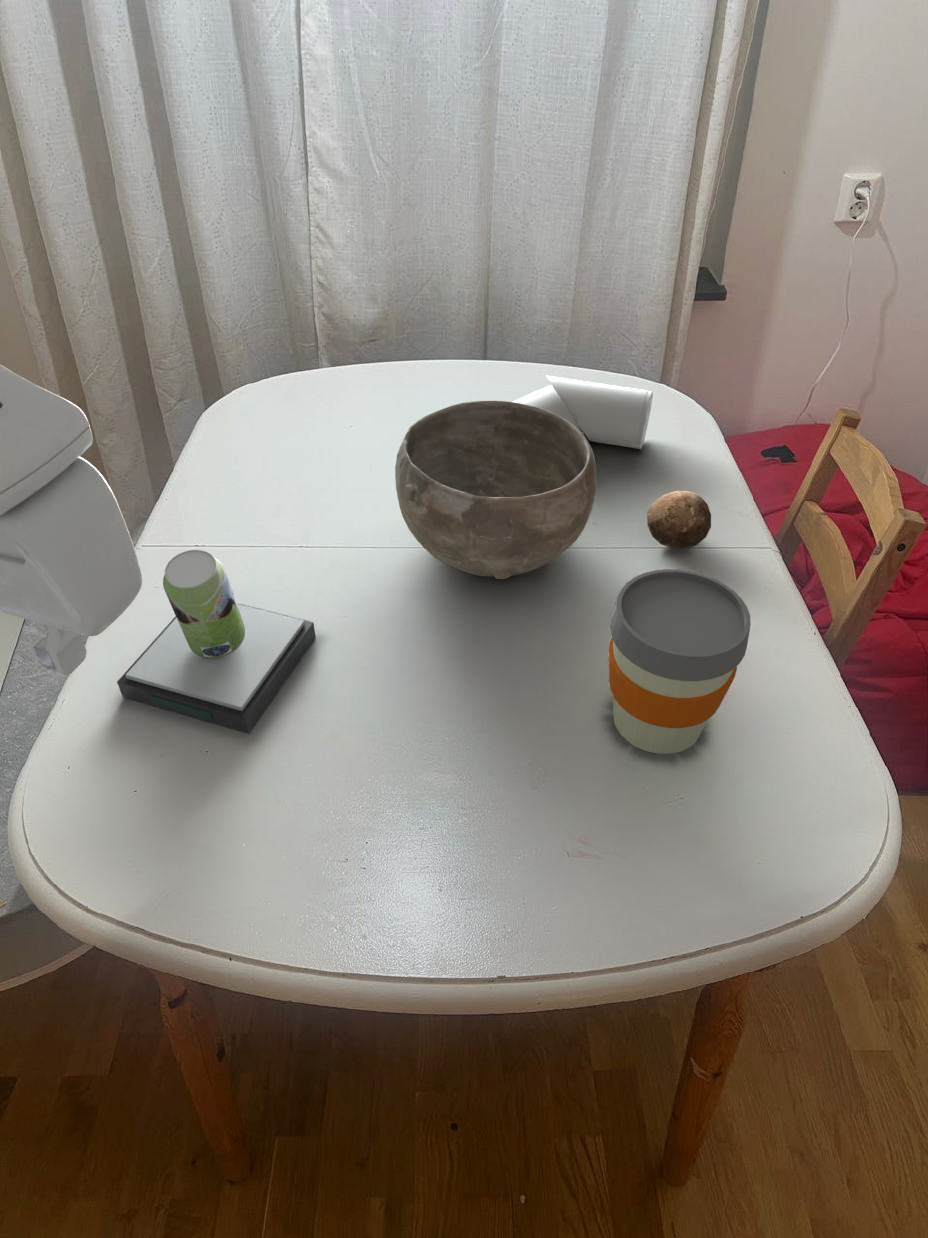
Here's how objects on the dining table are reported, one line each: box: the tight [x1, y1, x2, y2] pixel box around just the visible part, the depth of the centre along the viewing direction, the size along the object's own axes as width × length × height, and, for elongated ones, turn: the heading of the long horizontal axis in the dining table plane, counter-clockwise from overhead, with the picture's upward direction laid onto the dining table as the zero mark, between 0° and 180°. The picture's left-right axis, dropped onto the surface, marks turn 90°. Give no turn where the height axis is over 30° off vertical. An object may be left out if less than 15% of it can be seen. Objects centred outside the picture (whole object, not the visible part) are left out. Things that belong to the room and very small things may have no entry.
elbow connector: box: [512, 375, 654, 450], centre depth 125 cm, size 18×11×20 cm
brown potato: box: [646, 490, 712, 549], centre depth 109 cm, size 8×8×6 cm
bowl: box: [394, 400, 597, 580], centre depth 104 cm, size 24×24×15 cm
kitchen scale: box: [116, 602, 317, 735], centre depth 92 cm, size 15×15×3 cm
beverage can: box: [162, 549, 245, 659], centre depth 87 cm, size 6×7×12 cm
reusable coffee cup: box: [608, 568, 752, 755], centre depth 82 cm, size 13×13×15 cm
